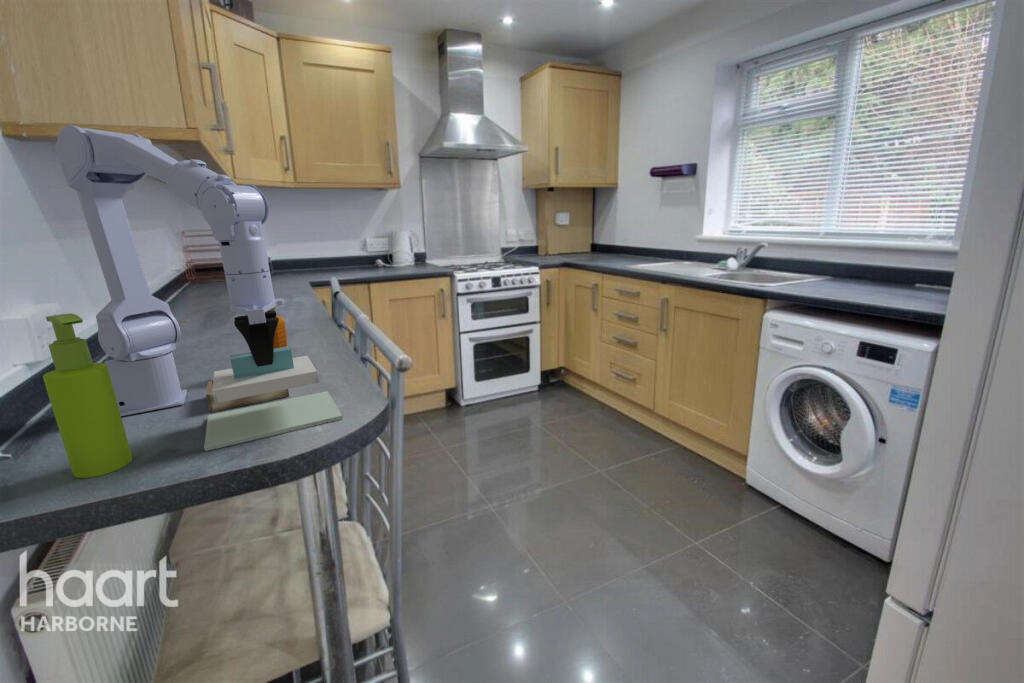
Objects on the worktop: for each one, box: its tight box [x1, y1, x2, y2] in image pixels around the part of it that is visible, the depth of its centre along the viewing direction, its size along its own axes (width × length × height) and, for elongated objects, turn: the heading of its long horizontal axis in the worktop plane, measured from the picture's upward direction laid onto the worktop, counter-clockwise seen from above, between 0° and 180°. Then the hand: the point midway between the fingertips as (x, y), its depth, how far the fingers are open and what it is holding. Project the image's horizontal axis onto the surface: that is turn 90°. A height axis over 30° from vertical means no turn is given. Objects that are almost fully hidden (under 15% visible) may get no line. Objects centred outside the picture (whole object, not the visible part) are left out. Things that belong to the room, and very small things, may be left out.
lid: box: [212, 345, 319, 403], centre depth 71 cm, size 13×10×5 cm
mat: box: [203, 390, 343, 452], centre depth 73 cm, size 18×13×1 cm
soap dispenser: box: [42, 313, 133, 479], centre depth 58 cm, size 6×7×20 cm
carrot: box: [269, 306, 288, 348], centre depth 96 cm, size 5×5×15 cm
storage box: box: [205, 379, 290, 413], centre depth 83 cm, size 12×9×3 cm
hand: (264, 362), depth 71 cm, fingers closed on lid, 2 cm apart
